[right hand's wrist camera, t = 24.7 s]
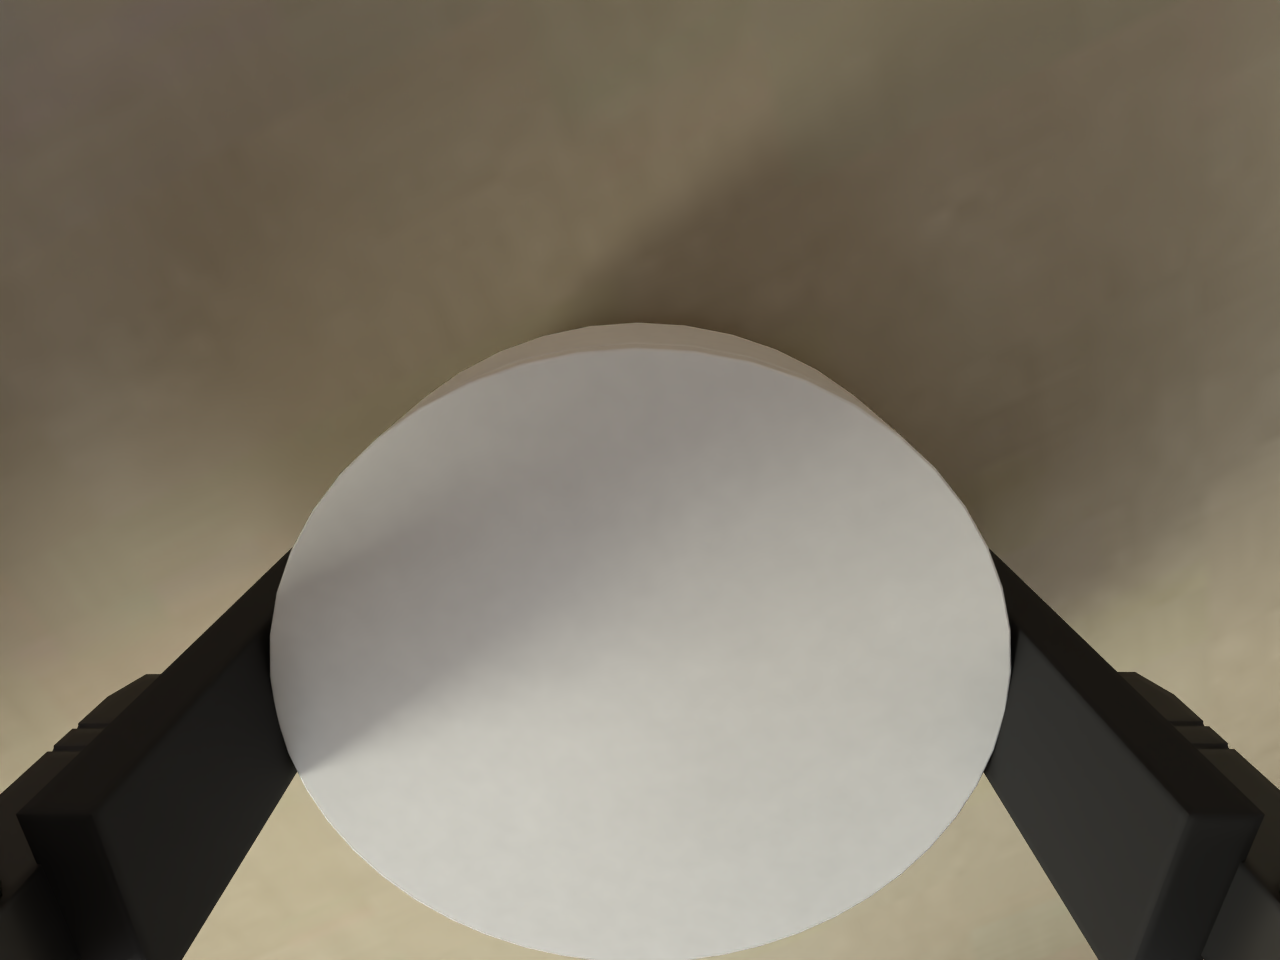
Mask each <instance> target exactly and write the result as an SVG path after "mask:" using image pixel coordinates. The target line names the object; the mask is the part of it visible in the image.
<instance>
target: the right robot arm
mask: <svg viewBox="0 0 1280 960" xmlns="http://www.w3.org/2000/svg"><path fill="white" fill-rule="evenodd" d="M292 548H293V547H292ZM292 548H291V549H290V550H289V551H288V552H287V553H286V554H285V555H284V556H283V557H282V558H281V559H280V560H279V561H278V562H277V563H276V564H275V565H274V566H273V567H272V568H271V569H270V570H269V571H268V572H266V573H265V574H264V575H263V576H262V577H261V578H260V579H259V580H258V581H257V582H256V583H255V584H254V585H253V586H252V587H251V588H250V589H249V590H248V591H247V592H246V593H245V594H244V595H243V596H242V597H241V598H240V599H238V600H237V601H236V602H235V603H234V604H233V605H232V606H231V607H230V608H229V609H228V610H227V611H226V612H225V613H224V614H223V615H222V616H221V617H220V618H219V619H218V620H217V621H216V622H215V623H214V624H213V625H212V626H210V627H209V628H208V629H207V630H206V631H205V632H204V633H203V634H202V635H201V636H200V637H199V638H198V639H197V640H196V641H195V642H194V643H193V644H192V645H191V646H190V647H189V648H188V649H187V650H186V651H185V652H184V653H182V654H181V655H180V656H179V657H178V658H177V659H176V660H175V661H174V662H173V663H172V664H171V665H170V666H169V667H168V668H167V669H166V670H165V671H164V672H163V673H162V674H146V675H144V676H142V677H141V678H139V679H137V680H136V681H134V682H132V683H130V684H129V685H127V686H125V687H124V688H122V689H120V690H118V691H117V692H115V693H113V694H112V695H110V696H108V697H107V698H106V699H105V700H104V701H102V702H101V703H100V704H99V705H98V706H97V707H96V708H95V709H94V710H93V711H91V712H90V713H89V714H88V715H87V716H86V717H85V718H84V719H83V720H82V721H80V722H79V723H78V728H77V729H72V730H71V731H69V732H68V733H67V734H66V735H65V736H64V737H63V738H62V739H61V740H60V741H58V742H57V743H56V744H55V745H54V749H53V751H52V752H46V753H45V754H44V755H43V756H42V757H41V758H40V759H39V760H38V761H37V762H35V763H34V764H33V765H32V766H31V767H30V768H29V769H28V770H27V771H26V772H24V773H23V774H22V775H21V776H20V777H19V778H18V779H17V780H16V781H15V782H13V783H12V784H11V785H10V786H9V787H8V788H7V789H6V790H5V791H4V792H2V793H1V794H0V960H182V959H183V957H184V955H185V954H186V952H187V951H188V949H189V947H190V946H191V944H192V942H193V941H194V939H195V937H196V936H197V934H198V933H199V931H200V929H201V928H202V926H203V924H204V923H205V921H206V920H207V918H208V916H209V915H210V913H211V911H212V910H213V908H214V906H215V905H216V903H217V902H218V900H219V898H220V897H221V895H222V893H223V892H224V890H225V889H226V887H227V885H228V884H229V882H230V880H231V879H232V877H233V875H234V874H235V872H236V871H237V869H238V867H239V866H240V864H241V862H242V861H243V859H244V858H245V856H246V854H247V853H248V851H249V849H250V848H251V846H252V844H253V843H254V841H255V840H256V838H257V836H258V835H259V833H260V831H261V830H262V828H263V827H264V825H265V823H266V822H267V820H268V818H269V817H270V815H271V813H272V812H273V810H274V809H275V807H276V805H277V804H278V802H279V800H280V799H281V797H282V796H283V794H284V792H285V791H286V789H287V787H288V786H289V784H290V782H291V781H292V779H293V778H294V776H295V774H296V773H297V770H296V768H295V766H294V764H293V761H292V759H291V757H290V755H289V753H288V750H287V747H286V744H285V741H284V738H283V735H282V732H281V729H280V725H279V721H278V717H277V712H276V708H275V703H274V698H273V692H272V686H271V679H270V632H271V626H272V619H273V613H274V607H275V601H276V595H277V591H278V588H279V585H280V582H281V579H282V576H283V573H284V570H285V567H286V564H287V561H288V558H289V555H290V552H291V550H292ZM989 551H990V554H991V557H992V559H993V562H994V565H995V568H996V571H997V573H998V576H999V579H1000V582H1001V584H1002V587H1003V592H1004V598H1005V603H1006V609H1007V614H1008V620H1009V625H1010V635H1011V676H1010V683H1009V690H1008V697H1007V702H1006V707H1005V712H1004V716H1003V720H1002V724H1001V728H1000V731H999V734H998V738H997V741H996V744H995V748H994V750H993V752H992V754H991V757H990V759H989V761H988V763H987V765H986V767H985V769H984V771H983V772H984V774H985V775H986V777H987V778H988V780H989V782H990V783H991V785H992V787H993V788H994V790H995V792H996V793H997V795H998V796H999V798H1000V800H1001V801H1002V803H1003V805H1004V806H1005V808H1006V809H1007V811H1008V813H1009V814H1010V816H1011V818H1012V819H1013V821H1014V823H1015V824H1016V826H1017V827H1018V829H1019V831H1020V832H1021V834H1022V836H1023V837H1024V839H1025V840H1026V842H1027V844H1028V845H1029V847H1030V849H1031V850H1032V852H1033V854H1034V855H1035V857H1036V858H1037V860H1038V862H1039V863H1040V865H1041V867H1042V868H1043V870H1044V871H1045V873H1046V875H1047V876H1048V878H1049V880H1050V881H1051V883H1052V885H1053V886H1054V888H1055V889H1056V891H1057V893H1058V894H1059V896H1060V898H1061V899H1062V901H1063V902H1064V904H1065V906H1066V907H1067V909H1068V911H1069V912H1070V914H1071V916H1072V917H1073V919H1074V920H1075V922H1076V924H1077V925H1078V927H1079V929H1080V930H1081V932H1082V933H1083V935H1084V937H1085V938H1086V940H1087V942H1088V943H1089V945H1090V947H1091V948H1092V950H1093V951H1094V953H1095V955H1096V956H1097V958H1098V960H1203V959H1204V960H1280V790H1279V789H1278V788H1277V787H1276V786H1274V785H1273V784H1272V783H1271V782H1270V781H1269V780H1268V779H1267V778H1266V777H1264V776H1263V775H1262V774H1261V773H1260V772H1259V771H1258V770H1257V769H1256V768H1255V767H1253V766H1252V765H1251V764H1250V763H1249V762H1248V761H1247V760H1246V759H1245V758H1243V757H1242V756H1241V755H1240V754H1239V753H1238V752H1237V751H1236V750H1235V749H1229V748H1228V743H1227V742H1226V741H1225V740H1224V739H1222V738H1221V737H1220V736H1219V735H1218V734H1217V733H1216V732H1215V731H1214V730H1212V729H1211V728H1210V727H1209V726H1204V725H1203V720H1201V719H1200V718H1199V717H1198V716H1197V715H1196V714H1195V713H1194V712H1193V711H1191V710H1190V709H1189V708H1188V707H1187V706H1186V705H1185V704H1184V703H1183V702H1182V701H1180V700H1179V699H1178V698H1177V697H1176V696H1175V695H1174V694H1172V693H1170V692H1169V691H1167V690H1165V689H1163V688H1162V687H1160V686H1158V685H1156V684H1155V683H1153V682H1151V681H1150V680H1148V679H1146V678H1144V677H1143V676H1141V675H1139V674H1138V673H1136V672H1117V671H1116V670H1115V669H1114V668H1113V667H1112V666H1110V665H1109V664H1108V663H1107V662H1106V661H1105V660H1104V659H1103V658H1102V657H1101V656H1100V655H1099V654H1098V653H1097V652H1096V651H1095V650H1094V649H1093V648H1092V647H1091V646H1090V645H1089V644H1088V643H1087V642H1086V641H1085V640H1084V639H1082V638H1081V637H1080V636H1079V635H1078V634H1077V633H1076V632H1075V631H1074V630H1073V629H1072V628H1071V627H1070V626H1069V625H1068V624H1067V623H1066V622H1065V621H1064V620H1063V619H1062V618H1061V617H1060V616H1059V615H1058V614H1057V613H1056V612H1054V611H1053V610H1052V609H1051V608H1050V607H1049V606H1048V605H1047V604H1046V603H1045V602H1044V601H1043V600H1042V599H1041V598H1040V597H1039V596H1038V595H1037V594H1036V593H1035V592H1034V591H1033V590H1032V589H1031V588H1030V587H1029V586H1027V585H1026V584H1025V583H1024V582H1023V581H1022V580H1021V579H1020V578H1019V577H1018V576H1017V575H1016V574H1015V573H1014V572H1013V571H1012V570H1011V569H1010V568H1009V567H1008V566H1007V565H1006V564H1005V563H1004V562H1003V561H1002V560H1001V559H999V558H998V557H997V556H996V555H995V554H994V553H993V552H992V551H991V550H990V549H989Z"/></svg>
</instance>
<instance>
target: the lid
mask: <svg viewBox="0 0 1280 960" xmlns="http://www.w3.org/2000/svg"><path fill="white" fill-rule="evenodd" d="M1010 676H1011V635H1010V625H1009V620H1008V614H1007V609H1006V603H1005V598H1004V592H1003V587H1002V584H1001V582H1000V579H999V576H998V573H997V571H996V568H995V565H994V562H993V559H992V557H991V554H990V551H989V548H988V546H987V544H986V542H985V540H984V539H983V537H982V535H981V533H980V531H979V530H978V528H977V526H976V524H975V522H974V521H973V519H972V517H971V515H970V513H969V512H968V510H967V508H966V506H965V505H964V504H963V502H962V501H961V500H960V499H959V497H958V496H957V495H956V493H955V492H954V491H953V490H952V488H951V487H950V486H949V485H948V483H947V482H946V481H945V479H944V478H943V477H942V476H941V474H940V473H939V472H938V471H937V469H936V468H935V467H934V466H933V465H932V464H931V463H929V462H928V461H927V460H926V459H925V458H924V457H923V456H922V455H921V454H920V453H919V452H918V451H917V450H916V449H914V448H913V447H912V446H911V445H910V444H909V443H908V442H907V441H906V440H905V439H904V438H903V437H902V436H901V435H899V434H898V433H897V432H896V431H895V430H894V429H893V428H891V427H890V426H889V425H888V424H887V423H886V422H884V421H883V420H882V419H881V418H880V417H879V416H877V415H876V414H875V413H874V412H873V411H872V410H870V409H869V408H868V407H867V406H866V405H865V404H863V403H862V402H861V401H860V400H859V399H857V398H856V397H855V396H854V395H853V394H851V393H850V392H848V391H847V390H845V389H844V388H843V387H841V386H840V385H838V384H837V383H835V382H834V381H832V380H831V379H830V378H828V377H827V376H825V375H824V374H822V373H821V372H819V371H818V370H816V369H814V368H812V367H810V366H808V365H806V364H804V363H802V362H800V361H798V360H796V359H794V358H792V357H790V356H788V355H786V354H784V353H782V352H780V351H778V350H776V349H773V348H771V347H768V346H765V345H762V344H759V343H756V342H753V341H750V340H747V339H744V338H741V337H738V336H735V335H732V334H727V333H722V332H717V331H712V330H706V329H701V328H696V327H691V326H686V325H670V324H653V323H625V324H612V325H599V326H588V327H583V328H579V329H574V330H569V331H564V332H560V333H555V334H550V335H545V336H542V337H539V338H536V339H533V340H530V341H528V342H525V343H522V344H519V345H516V346H514V347H511V348H508V349H505V350H503V351H500V352H498V353H496V354H494V355H492V356H490V357H488V358H486V359H484V360H482V361H480V362H478V363H477V364H475V365H473V366H471V367H469V368H467V369H465V370H463V371H461V372H459V373H458V374H456V375H455V376H454V377H452V378H451V379H449V380H448V381H447V382H445V383H444V384H443V385H441V386H440V387H438V388H437V389H436V390H434V391H433V392H431V393H430V394H429V395H427V396H426V397H424V398H423V399H422V400H421V401H420V402H418V403H417V404H416V405H415V406H414V407H413V408H411V409H410V410H409V411H408V412H407V413H405V414H404V415H403V416H402V417H401V418H400V419H398V420H397V421H396V422H395V423H394V424H393V425H391V426H390V427H389V428H388V429H387V430H386V431H385V432H383V433H382V434H381V435H380V436H379V437H377V438H376V439H375V440H374V441H373V442H372V443H371V444H370V445H369V446H368V447H367V448H366V449H365V450H364V451H363V452H362V453H361V454H360V455H359V456H358V457H357V458H356V459H355V460H354V461H353V462H352V463H351V464H350V465H348V466H347V467H346V468H345V469H344V470H343V471H342V472H341V473H340V475H339V476H338V477H337V479H336V480H335V481H334V483H333V484H332V485H331V487H330V488H329V489H328V491H327V492H326V493H325V495H324V496H323V497H322V499H321V500H320V501H319V503H318V504H317V505H316V507H315V508H314V509H313V510H312V512H311V514H310V516H309V518H308V520H307V522H306V523H305V525H304V527H303V529H302V531H301V533H300V535H299V537H298V539H297V540H296V542H295V544H294V546H293V548H292V550H291V552H290V555H289V558H288V561H287V564H286V567H285V570H284V573H283V576H282V579H281V582H280V585H279V588H278V591H277V595H276V601H275V607H274V613H273V619H272V626H271V632H270V679H271V686H272V692H273V698H274V703H275V708H276V712H277V717H278V721H279V725H280V729H281V732H282V735H283V738H284V741H285V744H286V747H287V750H288V753H289V755H290V757H291V759H292V761H293V764H294V766H295V768H296V770H297V772H298V774H299V776H300V778H301V780H302V782H303V784H304V786H305V788H306V790H307V791H308V793H309V794H310V796H311V797H312V798H313V800H314V801H315V803H316V804H317V806H318V807H319V809H320V810H321V812H322V813H323V815H324V816H325V818H326V819H327V821H328V822H329V823H330V824H331V825H332V826H333V828H334V829H335V830H336V831H337V832H338V833H339V834H340V836H341V837H342V838H343V839H344V840H345V841H346V842H347V844H348V845H349V846H350V847H351V848H352V849H353V850H354V851H355V852H356V853H357V854H358V855H359V856H360V857H361V858H363V859H364V860H365V861H366V862H367V863H368V864H369V865H370V866H372V867H373V868H374V869H375V870H376V871H377V872H378V873H379V874H380V875H382V876H383V877H384V878H385V879H387V880H388V881H390V882H391V883H393V884H394V885H395V886H397V887H398V888H400V889H401V890H402V891H404V892H405V893H407V894H408V895H409V896H411V897H412V898H414V899H415V900H417V901H419V902H420V903H422V904H424V905H426V906H428V907H429V908H431V909H433V910H435V911H436V912H438V913H440V914H442V915H444V916H445V917H447V918H449V919H451V920H453V921H456V922H458V923H460V924H463V925H465V926H467V927H469V928H472V929H474V930H476V931H479V932H481V933H483V934H486V935H488V936H492V937H495V938H498V939H501V940H504V941H507V942H510V943H513V944H516V945H519V946H522V947H526V948H531V949H535V950H539V951H544V952H548V953H553V954H557V955H562V956H569V957H576V958H584V959H592V960H690V959H697V958H704V957H712V956H719V955H724V954H729V953H733V952H737V951H741V950H746V949H750V948H754V947H758V946H762V945H765V944H768V943H771V942H774V941H777V940H780V939H783V938H786V937H789V936H792V935H795V934H798V933H800V932H803V931H805V930H807V929H809V928H812V927H814V926H816V925H818V924H821V923H823V922H825V921H827V920H829V919H832V918H834V917H836V916H838V915H839V914H841V913H843V912H845V911H846V910H848V909H850V908H852V907H853V906H855V905H857V904H858V903H860V902H862V901H864V900H865V899H867V898H869V897H870V896H872V895H873V894H875V893H876V892H877V891H879V890H880V889H881V888H883V887H884V886H886V885H887V884H888V883H890V882H891V881H892V880H894V879H895V878H896V877H898V876H899V875H901V874H902V873H903V872H904V871H905V870H906V869H907V868H908V867H910V866H911V865H912V864H913V863H914V862H915V861H916V860H917V859H918V858H919V857H920V856H921V855H923V854H924V853H925V852H926V851H927V850H928V849H929V848H930V847H931V846H932V845H933V844H934V843H935V841H936V840H937V839H938V838H939V837H940V835H941V834H942V833H943V832H944V831H945V830H946V828H947V827H948V826H949V825H950V824H951V823H952V821H953V820H954V819H955V818H956V817H957V815H958V813H959V812H960V810H961V809H962V807H963V806H964V804H965V803H966V801H967V800H968V798H969V797H970V795H971V794H972V792H973V790H974V789H975V787H976V786H977V784H978V782H979V780H980V778H981V776H982V774H983V771H984V769H985V767H986V765H987V763H988V761H989V759H990V757H991V754H992V752H993V750H994V748H995V744H996V741H997V738H998V734H999V731H1000V728H1001V724H1002V720H1003V716H1004V712H1005V707H1006V702H1007V697H1008V690H1009V683H1010Z"/></svg>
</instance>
